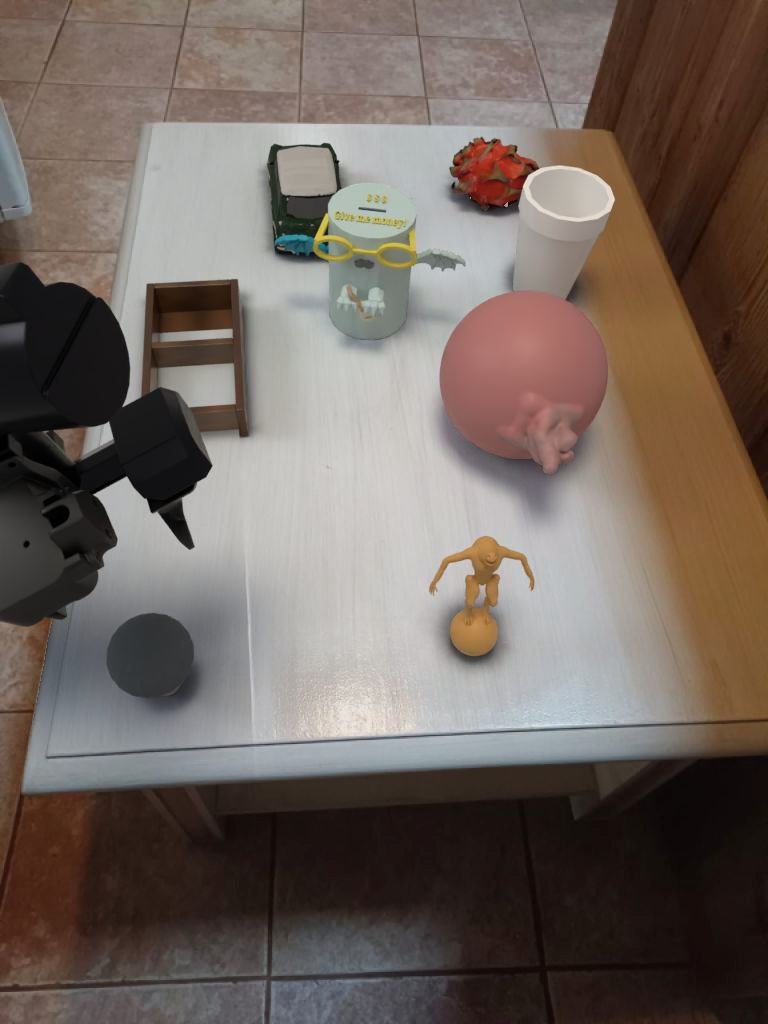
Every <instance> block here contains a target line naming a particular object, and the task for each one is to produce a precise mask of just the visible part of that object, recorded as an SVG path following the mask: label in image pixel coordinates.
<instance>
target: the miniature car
mask: <svg viewBox="0 0 768 1024" xmlns="http://www.w3.org/2000/svg"><path fill="white" fill-rule="evenodd" d="M340 161H341V160H339V159H338V157H337V153H336V151H335V150H334V148H333V146H332V145H331V143H329V142H322V143H321V144H306V143H305V144H301V143H300V144H292V145H281V144H278V143H273V144H272V145H270V149H269V152H268V156H267V161H266V168H267V177H268V186H269V187H268V188H269V197H270V208H271V219H272V233H273V235H272V236H273V247H274V252H275V253H280V252H281V253H282V252H285V246H284V245H282V244H277V245H276V246H275V241H276V239H278V238H279V237H281V236H286V235H291V236H292V235H306V236H308V237H312V238H314V239H315V236H316V234H317V232H318V230H319V228H320V225H321V223H322V221H323V219H324V217H325V215H326V213H327V214H328V204H329V202H330V200H331V198H332V196H333V195H334V194H336V193H337V192H338V191H339V190H341V189H342V184H341V179H340ZM327 235H328V226H327V229H326V231H325V233H324V235H323V236H327ZM322 244H324V245H325V246H328V245H329V241H327V242H323V243H322ZM287 252H291V253H292V254H296V253H295V252H294V251H291V250H288V251H287ZM313 252H314V251H312V252H311V253H313Z"/></svg>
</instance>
